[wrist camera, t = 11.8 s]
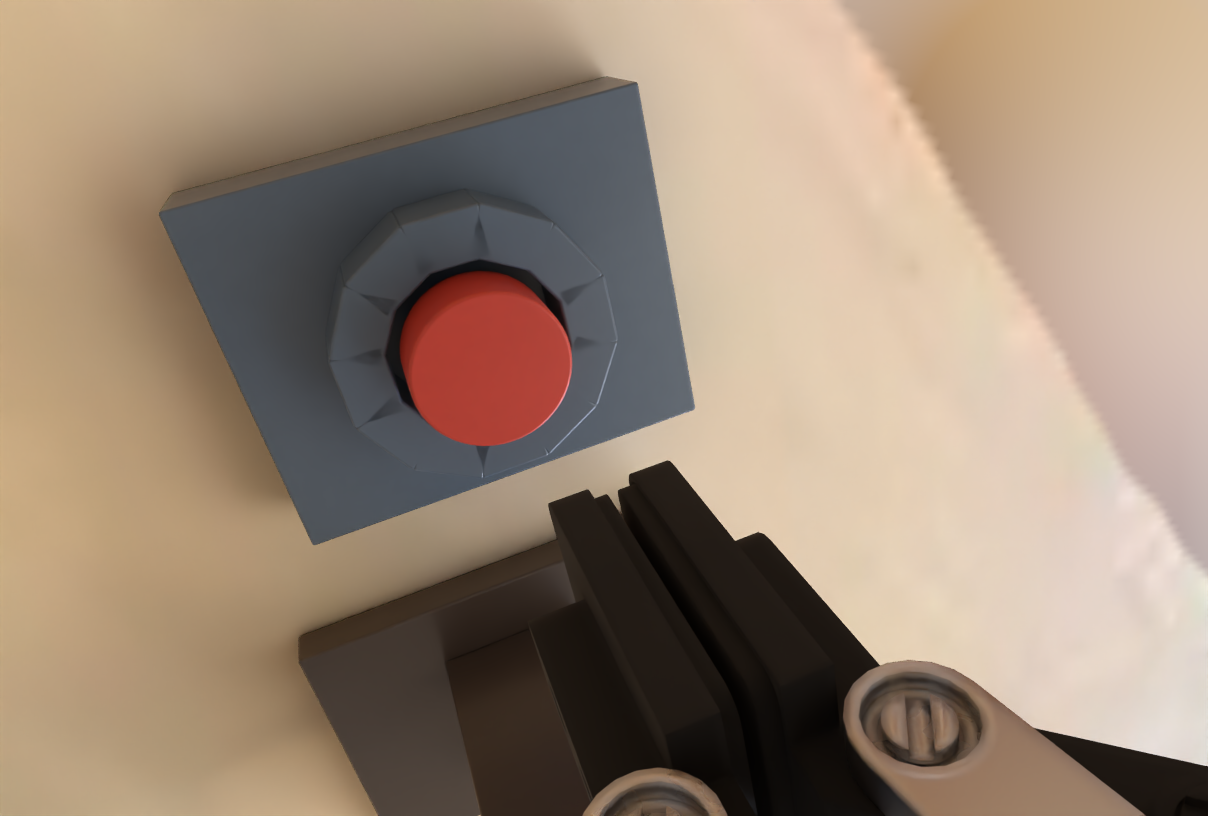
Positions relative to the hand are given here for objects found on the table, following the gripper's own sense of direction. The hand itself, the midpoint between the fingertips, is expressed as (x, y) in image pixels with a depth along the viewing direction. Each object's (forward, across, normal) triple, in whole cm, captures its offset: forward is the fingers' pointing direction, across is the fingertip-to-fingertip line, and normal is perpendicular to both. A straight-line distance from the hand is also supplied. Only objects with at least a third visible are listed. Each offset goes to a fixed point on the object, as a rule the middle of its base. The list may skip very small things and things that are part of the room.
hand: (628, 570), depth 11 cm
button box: (+13, 0, 0) cm, 13 cm away
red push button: (+10, 0, 0) cm, 10 cm away
